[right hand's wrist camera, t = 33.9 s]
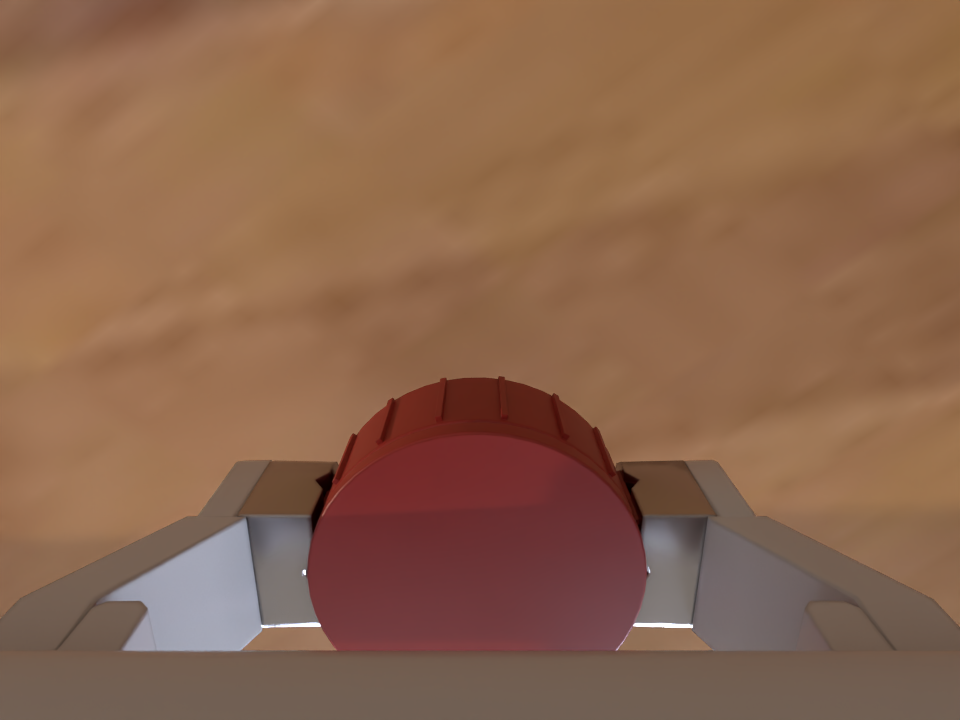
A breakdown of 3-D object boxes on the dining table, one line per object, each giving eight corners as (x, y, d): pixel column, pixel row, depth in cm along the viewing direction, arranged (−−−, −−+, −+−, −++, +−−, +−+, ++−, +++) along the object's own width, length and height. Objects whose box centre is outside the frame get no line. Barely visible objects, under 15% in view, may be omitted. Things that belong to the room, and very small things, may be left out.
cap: (293, 405, 9) (253, 466, 8) (599, 343, 9) (625, 394, 7) (375, 641, 11) (357, 735, 9) (640, 595, 11) (670, 684, 9)
